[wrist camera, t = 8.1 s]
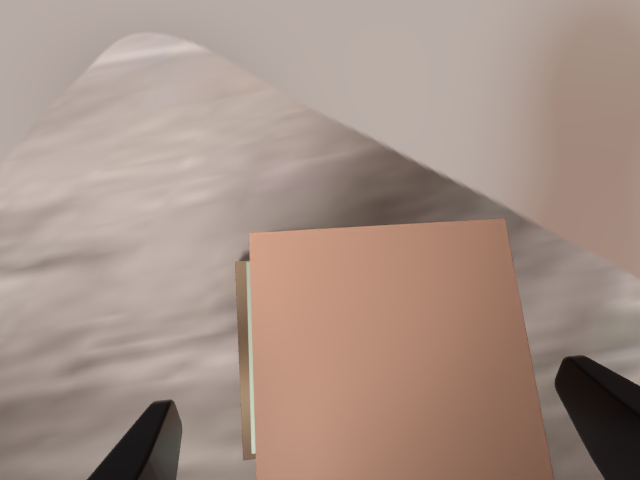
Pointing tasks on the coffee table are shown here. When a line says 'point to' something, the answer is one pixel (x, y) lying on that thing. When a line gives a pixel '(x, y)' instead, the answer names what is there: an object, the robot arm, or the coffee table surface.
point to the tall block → (392, 355)
